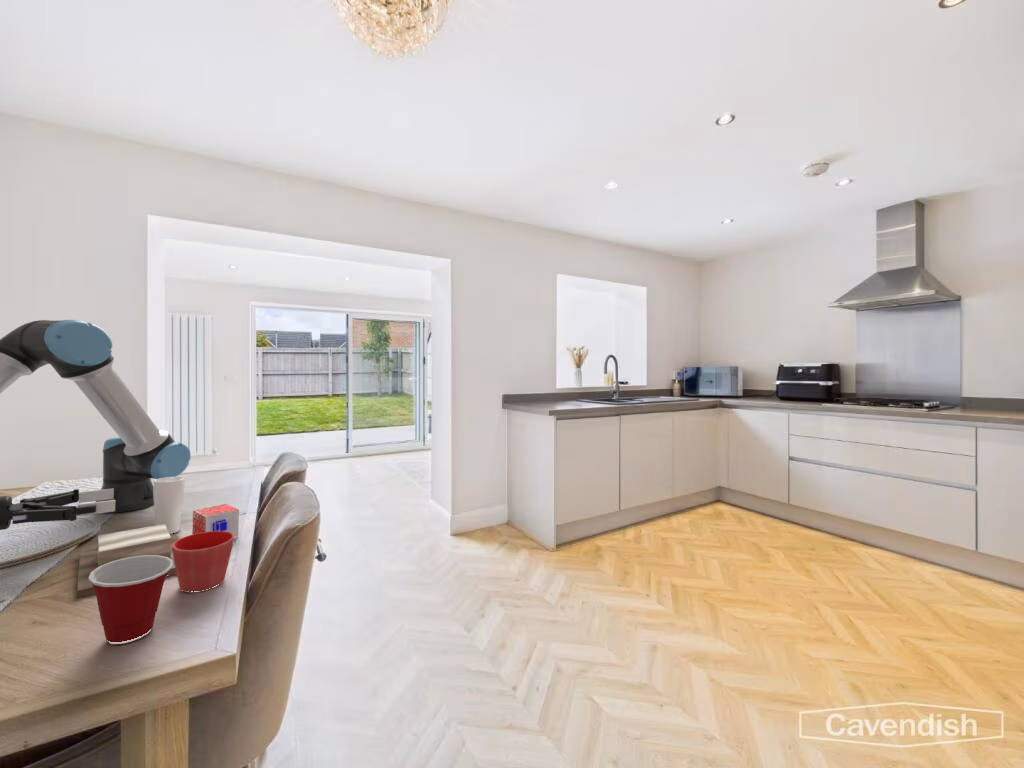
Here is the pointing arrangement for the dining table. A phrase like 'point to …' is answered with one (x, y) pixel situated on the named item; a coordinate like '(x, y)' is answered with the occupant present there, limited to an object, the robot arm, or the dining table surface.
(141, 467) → the robot arm
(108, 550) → the display stand
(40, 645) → the dining table surface
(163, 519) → the drinking glass
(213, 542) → the flower pot
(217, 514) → the red patterned cube
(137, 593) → the plastic cup
